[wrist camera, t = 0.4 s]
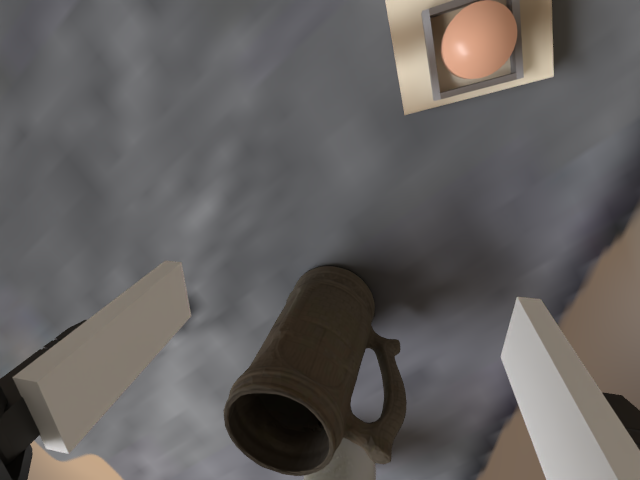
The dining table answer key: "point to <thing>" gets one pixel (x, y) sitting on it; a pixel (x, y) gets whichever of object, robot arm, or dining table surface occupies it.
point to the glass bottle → (347, 465)
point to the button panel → (425, 56)
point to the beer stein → (315, 380)
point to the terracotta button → (479, 40)
